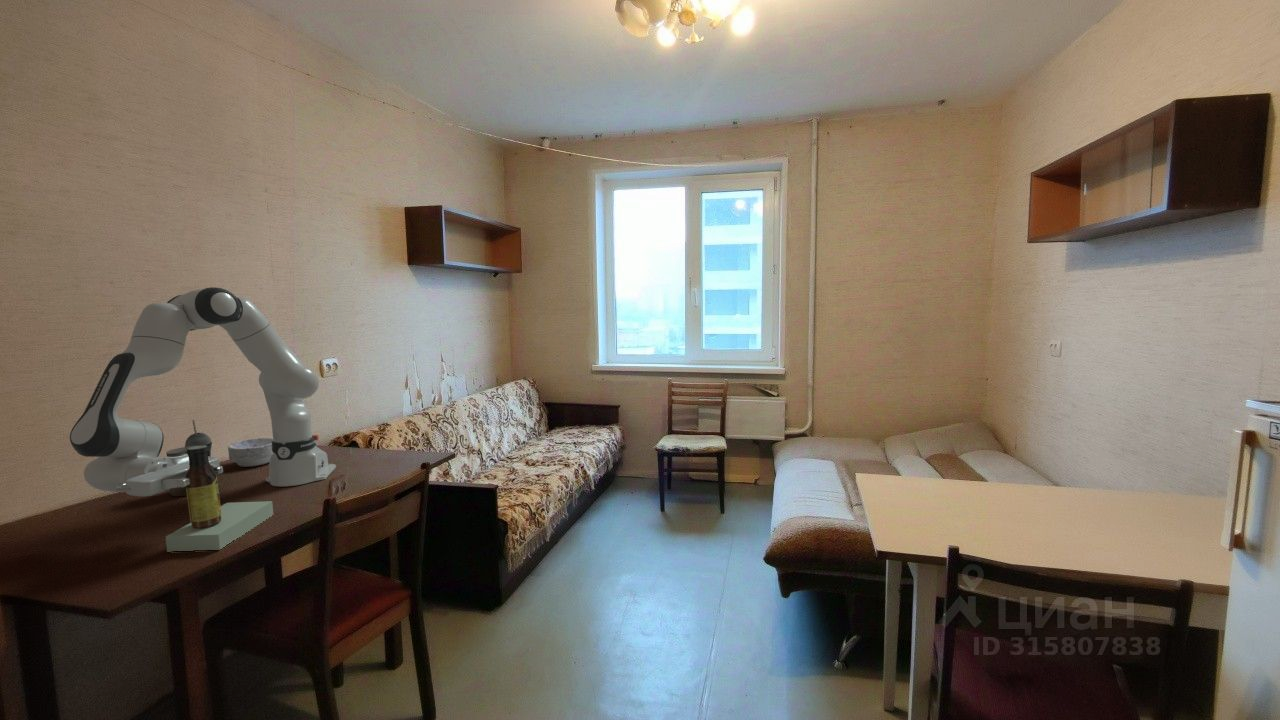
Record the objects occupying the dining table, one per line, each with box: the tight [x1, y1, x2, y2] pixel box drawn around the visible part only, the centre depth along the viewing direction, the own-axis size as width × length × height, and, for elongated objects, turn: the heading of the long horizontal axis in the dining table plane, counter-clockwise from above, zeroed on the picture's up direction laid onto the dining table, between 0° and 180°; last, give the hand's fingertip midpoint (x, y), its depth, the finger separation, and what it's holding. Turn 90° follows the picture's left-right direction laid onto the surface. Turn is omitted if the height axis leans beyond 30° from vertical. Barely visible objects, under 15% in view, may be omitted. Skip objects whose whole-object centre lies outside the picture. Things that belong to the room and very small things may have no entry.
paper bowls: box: [227, 437, 273, 468], centre depth 203 cm, size 15×15×8 cm
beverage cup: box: [184, 419, 213, 457], centre depth 186 cm, size 7×7×20 cm
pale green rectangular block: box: [165, 500, 274, 553], centre depth 142 cm, size 22×12×4 cm, turn 5°
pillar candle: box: [165, 444, 194, 497], centre depth 173 cm, size 10×10×15 cm
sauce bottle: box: [185, 445, 222, 528], centre depth 137 cm, size 7×6×20 cm
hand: (204, 476), depth 136 cm, fingers open, 8 cm apart
